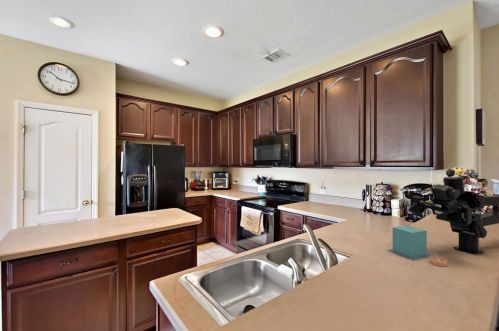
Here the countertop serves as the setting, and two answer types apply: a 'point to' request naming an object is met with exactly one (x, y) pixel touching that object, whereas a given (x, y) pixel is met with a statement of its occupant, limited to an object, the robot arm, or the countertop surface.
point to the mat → (413, 258)
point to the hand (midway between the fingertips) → (422, 213)
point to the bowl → (438, 261)
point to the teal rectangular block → (410, 241)
